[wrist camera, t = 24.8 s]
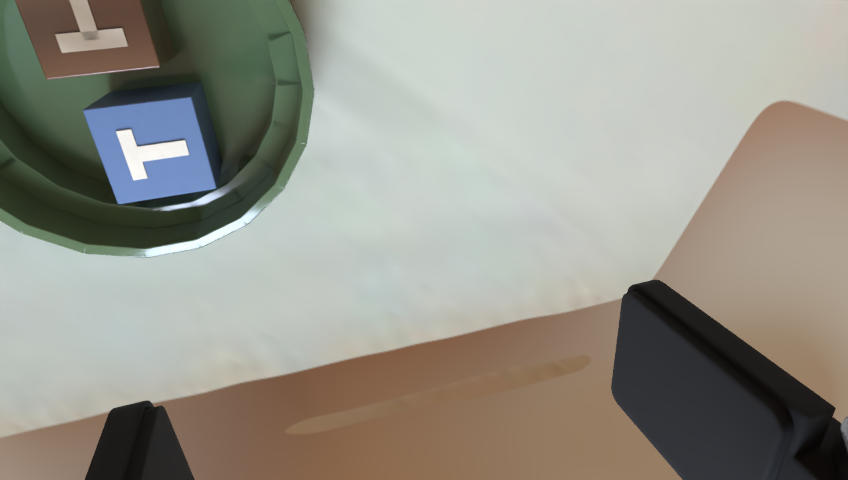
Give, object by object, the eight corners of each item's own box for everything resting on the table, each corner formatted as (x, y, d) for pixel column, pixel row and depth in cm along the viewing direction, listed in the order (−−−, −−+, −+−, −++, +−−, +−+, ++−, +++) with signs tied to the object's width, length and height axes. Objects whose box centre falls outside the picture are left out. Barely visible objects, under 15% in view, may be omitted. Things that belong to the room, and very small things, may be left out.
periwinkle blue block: (108, 92, 29) (81, 110, 24) (201, 81, 30) (191, 96, 26) (137, 175, 31) (117, 205, 27) (223, 162, 32) (216, 189, 28)
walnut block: (41, -37, 26) (-5, -43, 21) (147, -44, 27) (125, -51, 22) (79, 66, 28) (44, 80, 24) (175, 56, 29) (160, 67, 25)
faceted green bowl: (-139, -116, 23) (-254, -147, 18) (270, -131, 27) (272, -159, 22) (31, 238, 32) (-14, 287, 26) (326, 189, 35) (336, 223, 30)
